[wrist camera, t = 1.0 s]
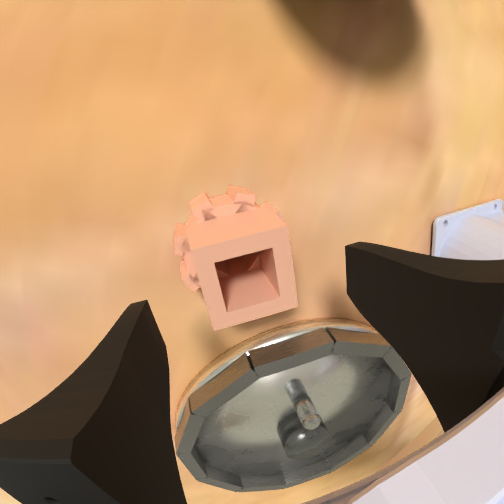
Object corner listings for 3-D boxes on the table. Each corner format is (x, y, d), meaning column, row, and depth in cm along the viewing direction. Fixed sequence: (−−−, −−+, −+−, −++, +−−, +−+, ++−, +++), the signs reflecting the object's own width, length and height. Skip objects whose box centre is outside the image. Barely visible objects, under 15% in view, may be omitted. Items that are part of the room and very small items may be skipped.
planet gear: (268, 176, 16) (307, 196, 11) (283, 270, 18) (319, 317, 13) (163, 201, 15) (158, 232, 10) (190, 295, 17) (198, 352, 13)
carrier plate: (403, 283, 21) (450, 319, 16) (380, 428, 28) (403, 460, 24) (135, 363, 18) (131, 427, 13) (212, 485, 26) (221, 525, 21)
